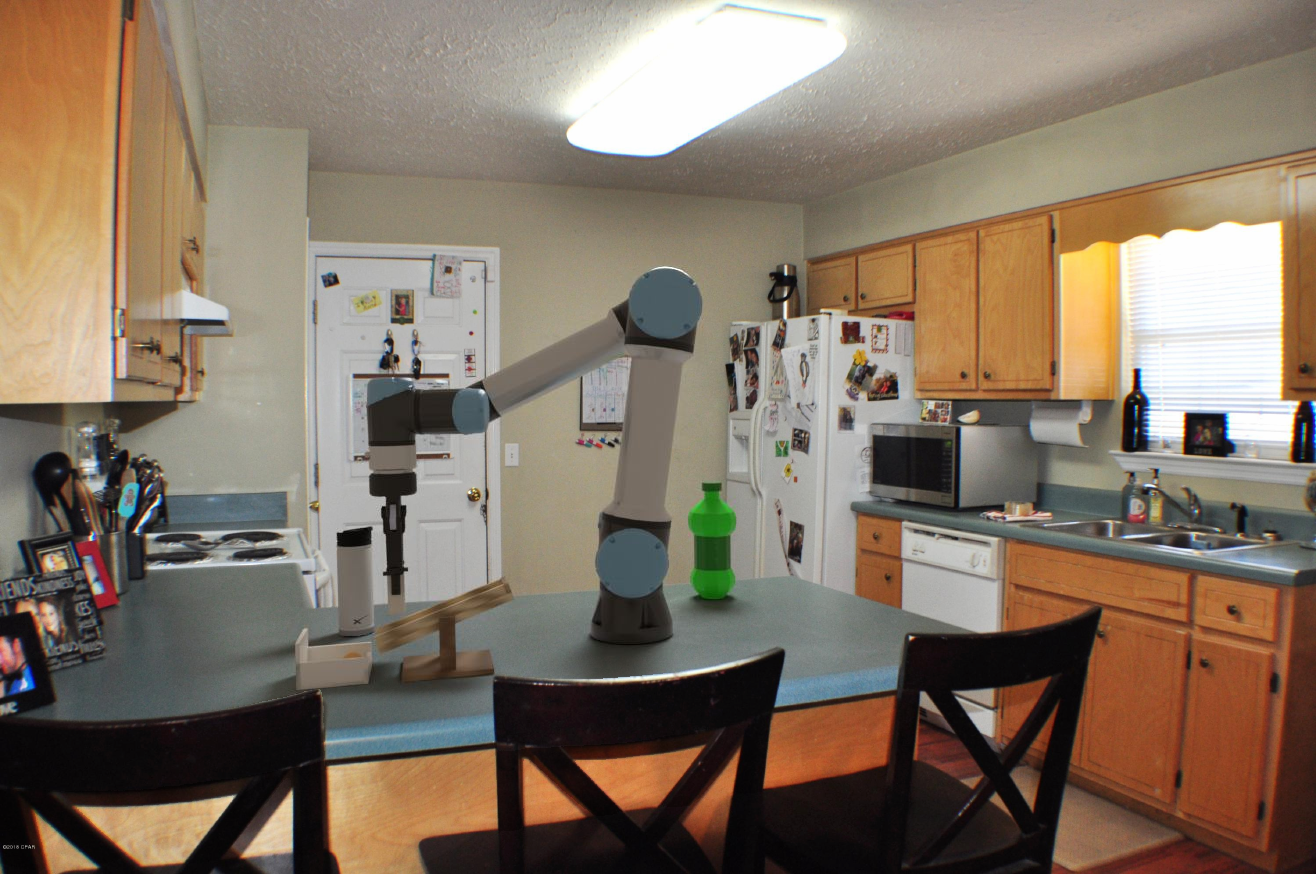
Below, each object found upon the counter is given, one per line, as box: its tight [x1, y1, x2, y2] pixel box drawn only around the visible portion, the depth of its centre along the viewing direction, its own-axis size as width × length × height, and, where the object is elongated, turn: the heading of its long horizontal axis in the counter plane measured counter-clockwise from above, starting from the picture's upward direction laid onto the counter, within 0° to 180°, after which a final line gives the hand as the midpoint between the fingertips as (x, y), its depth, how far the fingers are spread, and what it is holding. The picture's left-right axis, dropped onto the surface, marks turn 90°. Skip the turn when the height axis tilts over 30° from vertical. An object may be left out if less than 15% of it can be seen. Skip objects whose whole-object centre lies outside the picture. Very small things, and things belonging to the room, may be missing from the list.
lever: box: [373, 576, 515, 655], centre depth 141 cm, size 22×12×3 cm, turn 105°
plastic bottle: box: [687, 481, 737, 600], centre depth 186 cm, size 10×10×25 cm
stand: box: [401, 615, 495, 683], centre depth 138 cm, size 14×11×9 cm
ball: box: [343, 652, 361, 659], centre depth 134 cm, size 3×3×3 cm
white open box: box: [294, 627, 373, 691], centre depth 133 cm, size 10×9×7 cm
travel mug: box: [336, 525, 375, 637], centre depth 159 cm, size 6×7×20 cm
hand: (396, 612), depth 141 cm, fingers closed
